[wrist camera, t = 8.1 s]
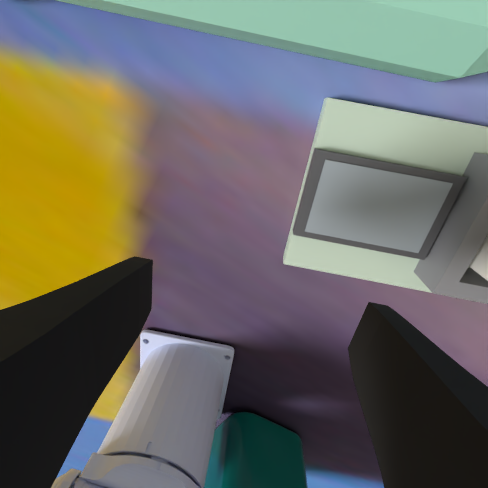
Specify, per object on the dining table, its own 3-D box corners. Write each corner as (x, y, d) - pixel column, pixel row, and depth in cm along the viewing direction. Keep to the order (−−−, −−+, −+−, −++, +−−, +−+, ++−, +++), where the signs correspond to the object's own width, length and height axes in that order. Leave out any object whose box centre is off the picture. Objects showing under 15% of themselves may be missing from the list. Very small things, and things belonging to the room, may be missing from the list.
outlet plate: (538, 306, 19) (588, 342, 16) (283, 256, 19) (285, 283, 16) (654, 159, 15) (753, 171, 12) (324, 98, 15) (337, 94, 12)
